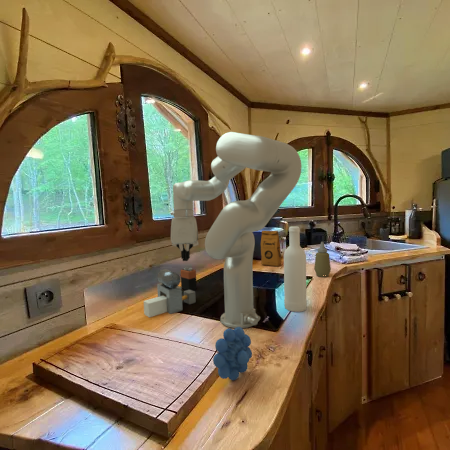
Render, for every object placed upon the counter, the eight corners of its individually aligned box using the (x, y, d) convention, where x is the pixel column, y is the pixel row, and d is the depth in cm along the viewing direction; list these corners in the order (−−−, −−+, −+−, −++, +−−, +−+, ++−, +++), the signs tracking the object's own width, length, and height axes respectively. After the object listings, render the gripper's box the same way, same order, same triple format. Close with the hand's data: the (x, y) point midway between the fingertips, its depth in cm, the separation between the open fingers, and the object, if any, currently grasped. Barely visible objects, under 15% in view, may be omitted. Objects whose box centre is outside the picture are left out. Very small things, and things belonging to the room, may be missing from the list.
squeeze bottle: (313, 277, 136) (313, 242, 135) (314, 273, 144) (314, 240, 143) (330, 278, 133) (330, 243, 132) (330, 274, 141) (330, 240, 139)
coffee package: (277, 267, 160) (276, 231, 158) (259, 265, 167) (258, 231, 165) (283, 264, 168) (283, 230, 166) (265, 262, 175) (265, 229, 173)
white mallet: (195, 302, 106) (195, 290, 106) (149, 317, 93) (148, 303, 93) (190, 300, 109) (189, 288, 109) (144, 314, 96) (143, 300, 96)
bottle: (287, 302, 103) (285, 225, 100) (308, 305, 99) (307, 225, 97) (282, 310, 95) (280, 227, 93) (304, 313, 92) (303, 227, 90)
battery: (189, 291, 120) (188, 269, 120) (180, 288, 125) (179, 267, 125) (197, 289, 123) (196, 268, 123) (188, 286, 128) (187, 266, 128)
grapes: (230, 403, 51) (228, 343, 50) (207, 387, 56) (205, 332, 55) (265, 374, 60) (264, 323, 59) (242, 362, 64) (241, 315, 63)
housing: (183, 310, 99) (181, 272, 98) (169, 314, 95) (167, 275, 94) (170, 302, 108) (168, 267, 107) (157, 305, 104) (155, 269, 103)
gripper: (162, 215, 101) (164, 262, 102) (200, 214, 99) (202, 262, 100) (168, 214, 108) (170, 258, 110) (204, 213, 106) (206, 258, 108)
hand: (185, 260), depth 105 cm, fingers closed
